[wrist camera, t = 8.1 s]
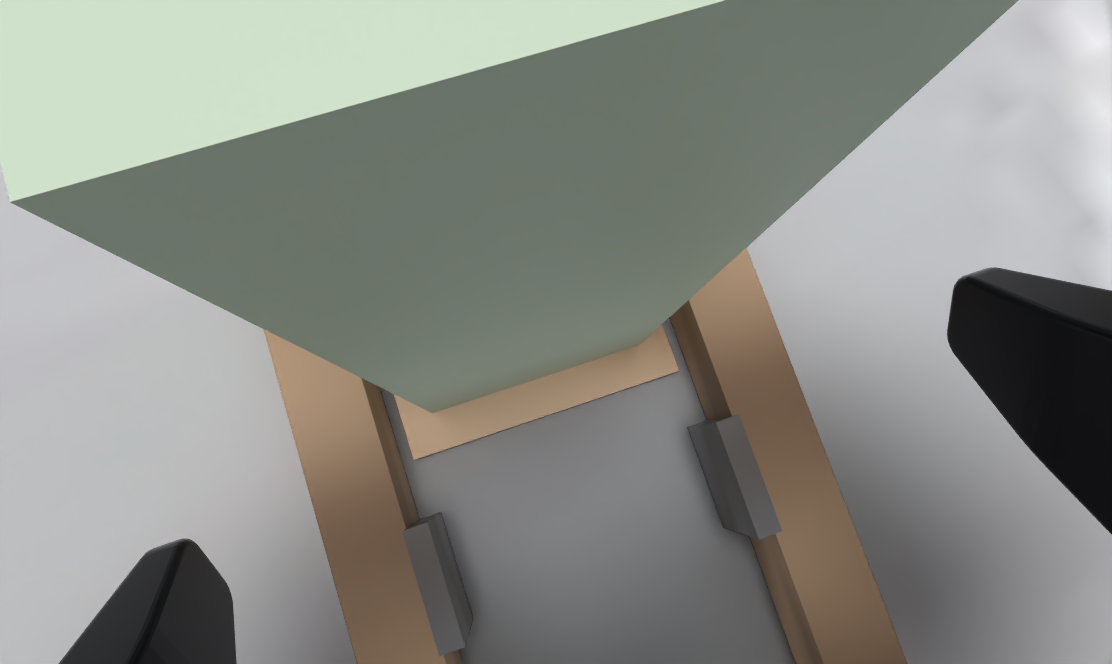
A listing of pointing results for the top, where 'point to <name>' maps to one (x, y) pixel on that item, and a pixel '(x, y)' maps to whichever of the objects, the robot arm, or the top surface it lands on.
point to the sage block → (449, 157)
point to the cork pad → (535, 397)
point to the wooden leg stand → (724, 453)
